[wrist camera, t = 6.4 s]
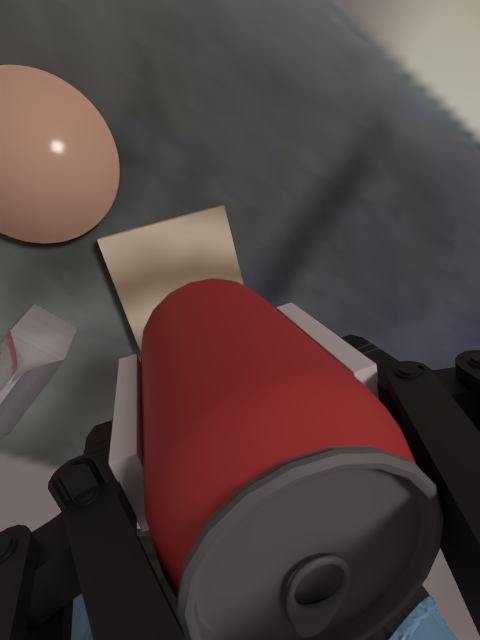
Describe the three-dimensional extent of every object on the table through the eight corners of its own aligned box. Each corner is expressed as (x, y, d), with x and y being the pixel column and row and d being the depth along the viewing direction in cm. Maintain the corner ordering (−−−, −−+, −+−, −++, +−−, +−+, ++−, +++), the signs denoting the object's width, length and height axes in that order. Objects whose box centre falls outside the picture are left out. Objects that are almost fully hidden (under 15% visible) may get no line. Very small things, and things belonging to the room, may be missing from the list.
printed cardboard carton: (77, 328, 30) (51, 389, 21) (31, 390, 31) (-14, 475, 22) (34, 304, 28) (-15, 357, 19) (-13, 369, 29) (-82, 451, 20)
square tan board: (248, 314, 33) (251, 319, 32) (141, 349, 32) (141, 355, 31) (220, 204, 30) (224, 205, 29) (98, 238, 28) (96, 240, 27)
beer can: (144, 406, 18) (156, 735, 7) (136, 276, 16) (135, 464, 5) (269, 392, 20) (432, 642, 9) (277, 273, 18) (506, 408, 7)
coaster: (140, 219, 28) (140, 220, 27) (-7, 259, 27) (-11, 261, 26) (85, 54, 24) (83, 49, 23) (-94, 88, 22) (-104, 84, 22)
